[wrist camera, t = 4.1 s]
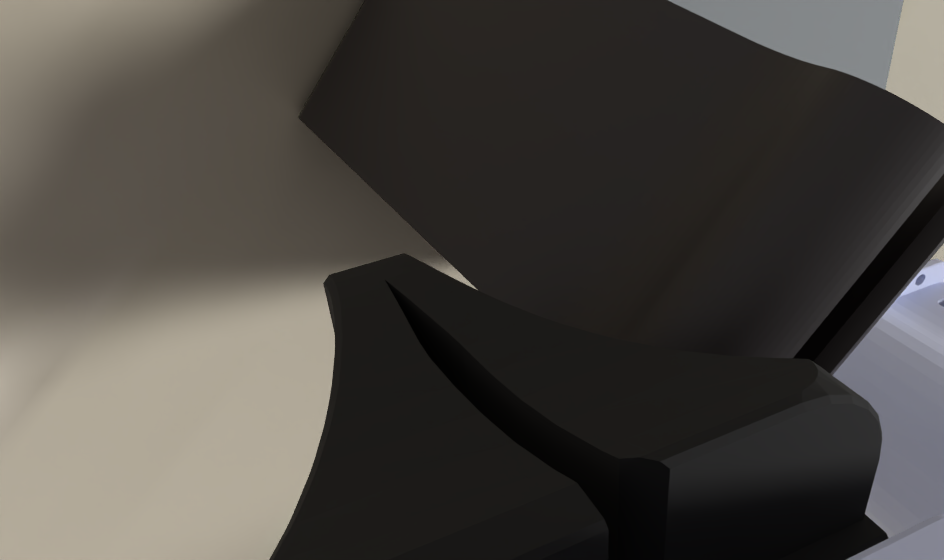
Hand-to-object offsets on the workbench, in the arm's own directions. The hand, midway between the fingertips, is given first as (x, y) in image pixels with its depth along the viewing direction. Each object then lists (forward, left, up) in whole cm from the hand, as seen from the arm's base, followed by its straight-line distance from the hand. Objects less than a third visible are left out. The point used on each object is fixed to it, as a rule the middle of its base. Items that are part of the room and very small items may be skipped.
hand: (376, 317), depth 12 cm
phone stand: (-6, 0, -8) cm, 10 cm away
